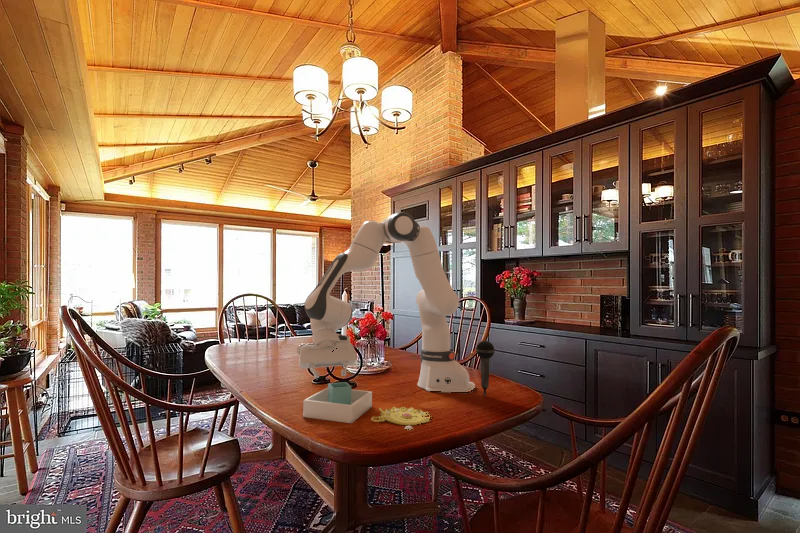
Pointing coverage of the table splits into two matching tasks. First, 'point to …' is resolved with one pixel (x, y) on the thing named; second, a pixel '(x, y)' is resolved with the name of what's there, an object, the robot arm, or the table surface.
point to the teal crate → (339, 393)
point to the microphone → (485, 362)
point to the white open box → (337, 406)
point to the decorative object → (403, 416)
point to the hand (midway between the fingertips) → (330, 376)
